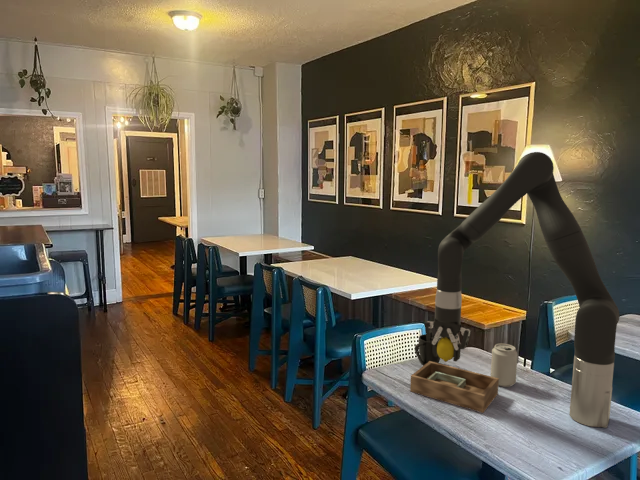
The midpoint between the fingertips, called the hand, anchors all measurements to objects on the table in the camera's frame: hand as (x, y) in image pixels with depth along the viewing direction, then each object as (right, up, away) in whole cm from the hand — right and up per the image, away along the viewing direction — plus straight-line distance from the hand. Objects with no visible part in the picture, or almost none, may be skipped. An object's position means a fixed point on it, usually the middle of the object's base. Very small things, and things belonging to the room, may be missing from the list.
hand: (445, 358), depth 144 cm
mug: (-1, -8, +20) cm, 21 cm away
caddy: (+2, -10, 0) cm, 11 cm away
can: (+20, -10, +7) cm, 23 cm away
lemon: (0, -1, 0) cm, 1 cm away
